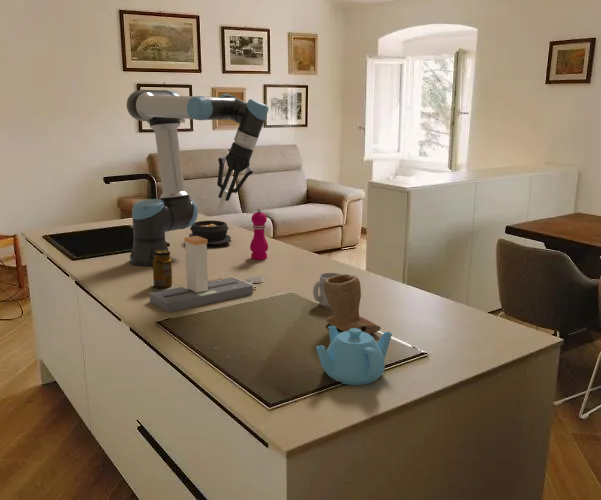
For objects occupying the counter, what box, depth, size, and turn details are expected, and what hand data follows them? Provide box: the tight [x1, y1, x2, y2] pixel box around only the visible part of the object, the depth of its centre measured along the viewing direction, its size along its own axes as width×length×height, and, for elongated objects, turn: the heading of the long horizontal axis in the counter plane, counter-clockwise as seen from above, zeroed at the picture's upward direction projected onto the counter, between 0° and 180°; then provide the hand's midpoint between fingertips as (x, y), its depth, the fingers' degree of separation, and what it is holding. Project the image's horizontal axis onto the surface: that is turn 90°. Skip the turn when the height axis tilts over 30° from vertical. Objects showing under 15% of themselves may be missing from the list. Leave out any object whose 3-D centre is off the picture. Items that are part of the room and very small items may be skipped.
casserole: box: [188, 220, 232, 246], centre depth 263 cm, size 25×19×8 cm
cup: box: [312, 272, 343, 308], centre depth 182 cm, size 7×10×9 cm
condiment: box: [150, 249, 176, 292], centre depth 197 cm, size 7×8×12 cm
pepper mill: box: [249, 208, 269, 261], centre depth 235 cm, size 7×7×20 cm
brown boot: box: [324, 273, 382, 335], centre depth 161 cm, size 15×12×15 cm
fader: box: [184, 236, 209, 293], centre depth 184 cm, size 4×6×16 cm
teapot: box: [315, 325, 393, 386], centre depth 135 cm, size 15×15×11 cm
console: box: [149, 276, 254, 313], centre depth 187 cm, size 30×12×3 cm, turn 129°
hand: (220, 207), depth 210 cm, fingers closed
